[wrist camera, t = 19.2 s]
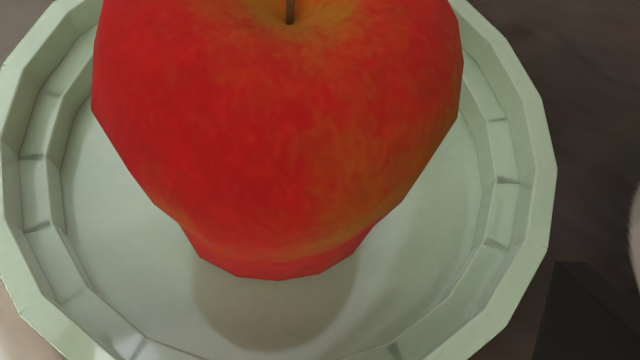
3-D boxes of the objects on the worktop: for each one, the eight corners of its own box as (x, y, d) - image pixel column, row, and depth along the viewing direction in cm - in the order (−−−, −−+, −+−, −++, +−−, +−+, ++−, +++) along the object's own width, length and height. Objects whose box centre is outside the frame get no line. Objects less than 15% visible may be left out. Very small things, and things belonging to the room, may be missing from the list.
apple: (235, 367, 17) (182, 246, 6) (120, 172, 19) (-54, -143, 9) (433, 231, 19) (628, -11, 9) (308, 78, 22) (345, -247, 12)
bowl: (479, 5, 26) (507, -53, 23) (555, 432, 17) (618, 432, 14) (84, -25, 25) (57, -92, 22) (-53, 427, 16) (-131, 424, 13)
